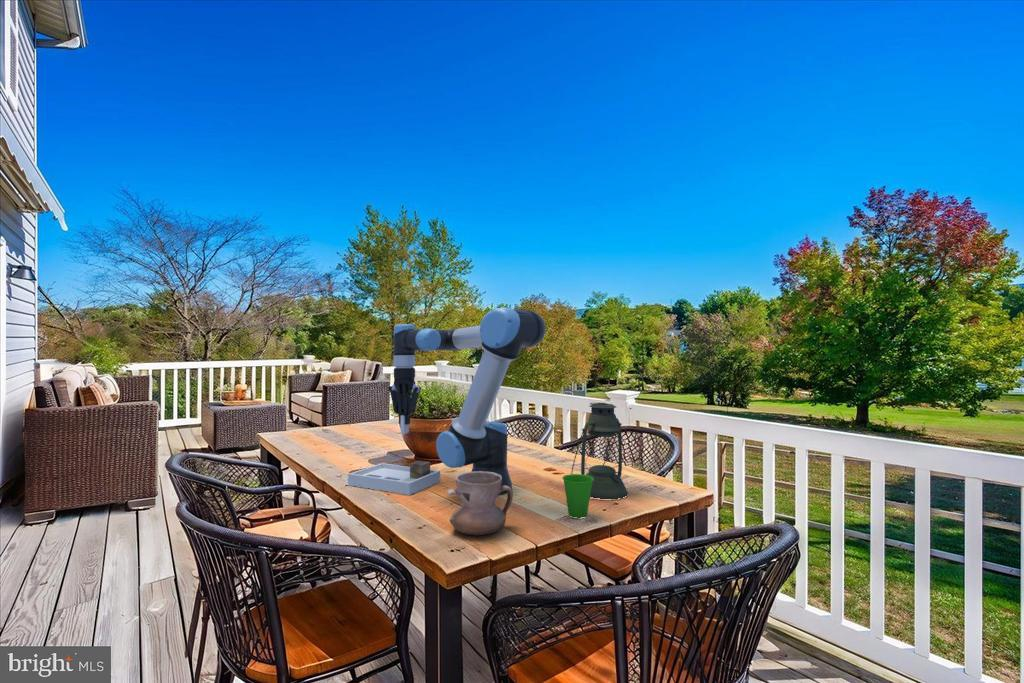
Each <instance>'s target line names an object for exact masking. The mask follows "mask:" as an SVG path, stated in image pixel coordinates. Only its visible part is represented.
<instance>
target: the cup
mask: <svg viewBox="0 0 1024 683" xmlns="http://www.w3.org/2000/svg"><path fill="white" fill-rule="evenodd" d="M562 480H563V484H564V493H565V497H566V506H567V512H568V516H569V515H570V516H572V517H577V518H581V517H586V518H587V516H588V513H589V512H588V511H589V505H590V500H591V499H590V494H591V488H592V482H593V481H594V479H593V477H591V476H588V475H586V474H585V475H582V474H581V473H572V474H571V473H569V474H565V475H563V476H562ZM570 516H569V517H570Z"/></svg>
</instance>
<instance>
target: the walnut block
mask: <svg viewBox="0 0 1024 683" xmlns="http://www.w3.org/2000/svg"><path fill="white" fill-rule="evenodd" d="M409 467H410V478H414V479H418V478H421V477H423V476H426V475H428V474H430V470H431V461H423V460H416V461H413V462H411V463H409Z"/></svg>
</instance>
